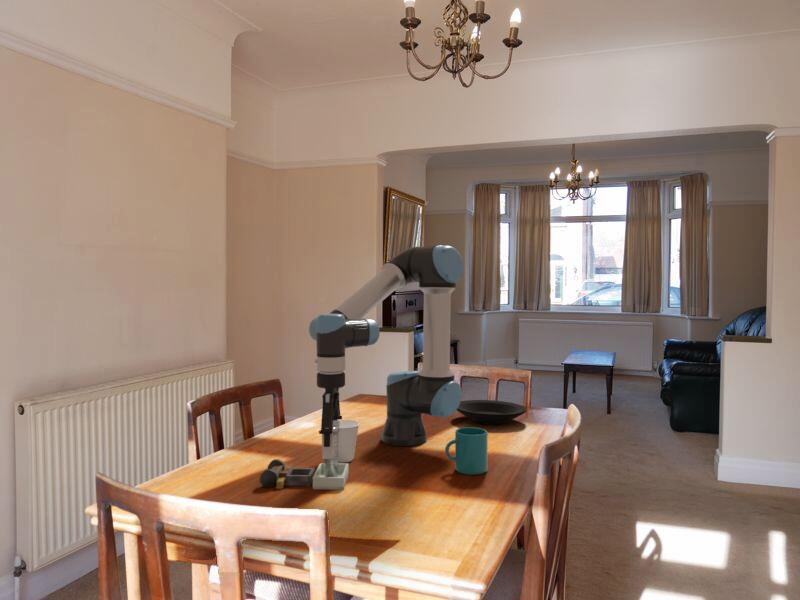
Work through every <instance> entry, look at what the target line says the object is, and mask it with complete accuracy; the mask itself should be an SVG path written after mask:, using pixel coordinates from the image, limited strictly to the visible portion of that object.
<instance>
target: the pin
mask: <svg viewBox="0 0 800 600" xmlns="http://www.w3.org/2000/svg"><path fill="white" fill-rule="evenodd" d="M338 432H339V426H334V425H333V427H332V433H333V459H324V463H325V477H338V463H339V462H338Z"/></svg>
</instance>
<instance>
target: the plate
mask: <svg viewBox="0 0 800 600" xmlns="http://www.w3.org/2000/svg"><path fill="white" fill-rule="evenodd" d="M456 412H458V413H459V414H462V416H464V417H467V418H468V419H470V420H472V421H473V422H475V423H478V424H482V425H487V426H488V425H493V426H494V425H500V424H502V423H506V422H508V421H511V420H514V419H516V418H517V419H518V417H520V416H522V415H524V414H526V413H527V408H526V407H525V406H524V405H522V404H519V403H513V402H510V401H502V400H494V399H493V400H492V399H490V400H489V399H469V400H461V402H460V405H459V407H458V408H457V410H456Z"/></svg>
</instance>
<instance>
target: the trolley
mask: <svg viewBox="0 0 800 600" xmlns="http://www.w3.org/2000/svg"><path fill="white" fill-rule="evenodd" d="M285 467H286V465H285V463H284V462H283V461H282V460H281V459H279V458H274V459H273V460H271V461H270V462H269V464H268V465H267V469H265V470H263V472H262V473H261V474H260V476H259V483H260V484H261V485H262V486H263V487H264V488H272V487H274V486H275V485H276V489H280V490H281V489H284V487H285V486H301V487H302V486H306V487H308V486H312V485H313V476H314V474H315V472H316V470H315V469H316V468H315V467H302V468H301V467H290V468H289V470H285V469H286V468H285Z"/></svg>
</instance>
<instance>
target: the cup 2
mask: <svg viewBox="0 0 800 600" xmlns="http://www.w3.org/2000/svg"><path fill="white" fill-rule="evenodd" d="M454 433H455V436H454V439H453V440H449V442H448V443H447V444H446V445H445V450H444V452H445V455H446V457H447V458H448V459H449V460H451V461H452V462H453V461H454V463H455V466H454V467H455V470H456V471H457V472H458V473H459V474H463V475H470V476H475V475H477V476H478V475H482V474H485V473H486V472H487V471H488V434H489V433H488V431H487V430H486V429H483V428H482V427H481V428H480V427H474V426H473V427H471V426H470V427H469V426H468V427H467V426H466V427H460V428H457V429H456V430H455V432H454ZM454 444H455V446H454V447H455V450H454V453H455V454H454V455H455V456H452V455H451V454H450V447H451V446H452V445H454Z"/></svg>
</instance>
